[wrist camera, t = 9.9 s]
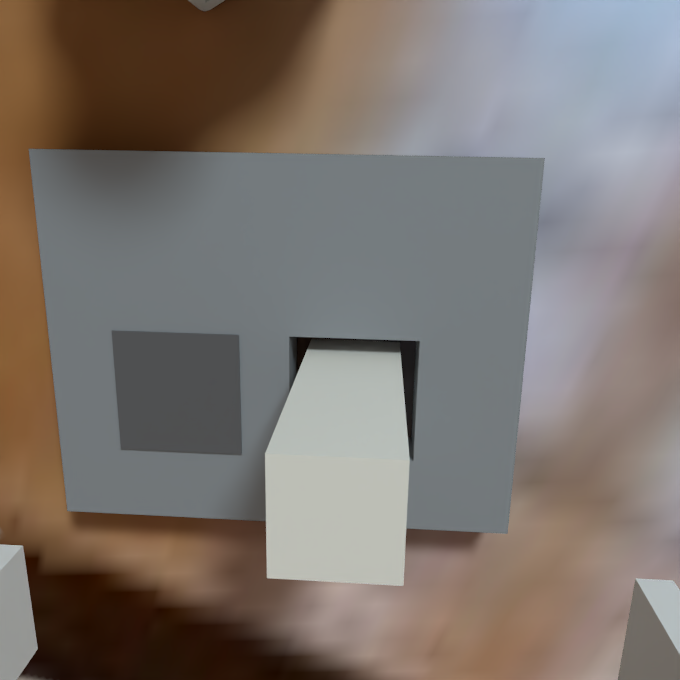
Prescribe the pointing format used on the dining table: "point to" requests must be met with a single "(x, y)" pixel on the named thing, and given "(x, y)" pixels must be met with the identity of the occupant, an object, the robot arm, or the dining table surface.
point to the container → (205, 4)
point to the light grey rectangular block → (340, 468)
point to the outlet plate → (279, 316)
